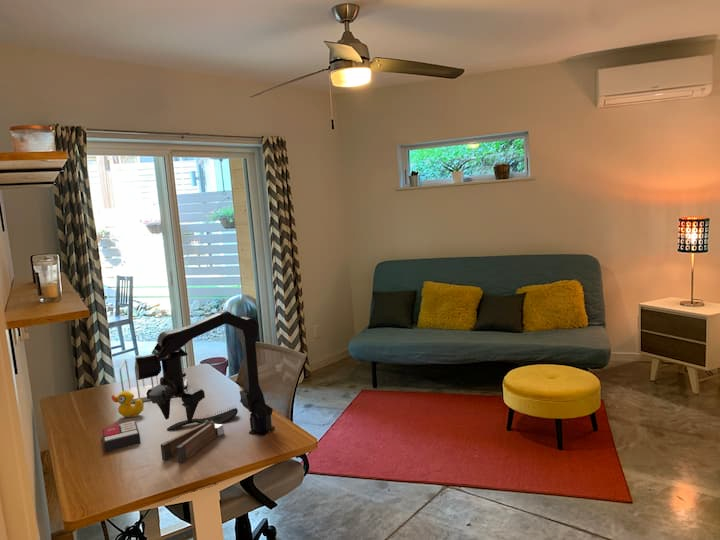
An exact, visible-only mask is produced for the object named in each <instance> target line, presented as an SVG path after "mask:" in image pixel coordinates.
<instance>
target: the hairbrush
mask: <svg viewBox="0 0 720 540" xmlns="http://www.w3.org/2000/svg"><path fill="white" fill-rule="evenodd" d="M238 412H239V410H238V408H237V406H234V407H228V410H227V409H226V408H225V411H224V409H223V411H222V410H221V411H220V410H219V411H218V413H219V414H218V413H217V414H216V413H214V414H212V415H211V416H209V415H204V416H202V415H201V416H200V417H199V418H196V417H195V418H192V421H191V422H190V423H189V422H188V420H187V419H185V420H181V421H178V422H176V423H174V424H172V425H170V426H169V427H167V428H166V430H173V431H175V430H177V429H179V428H180V429H181V427H184V426H187V425H191V424H194V423H196V424H199V425H201V424H203V423H205V421H206V420H208V422H209V423H210V422H211V421H213V422H214V423H215V424H222V423H223V424H226V423H229V422H230V421H231V420H233V419H234V418H235V417H236V415H237V414H238Z"/></svg>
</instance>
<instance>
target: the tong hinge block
mask: <svg viewBox="0 0 720 540" xmlns="http://www.w3.org/2000/svg"><path fill="white" fill-rule="evenodd" d="M214 424H215V423H214ZM224 431H225V430H224V423H223V424H215V433H216V437H215V438H220V437H221V436H222V435H224V433H225V432H224Z"/></svg>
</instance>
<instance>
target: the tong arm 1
mask: <svg viewBox="0 0 720 540" xmlns="http://www.w3.org/2000/svg"><path fill="white" fill-rule="evenodd" d="M208 424H210V423H209V422H208V420H206V421H205V423H203V424H199V425H197V426H195V427H193V428H191V429H189V430H187V431H185V432H183V433H181V434H178V435H177V436H175V437H173V438H171V439H169V440H166V441H164V442H162V443H160V453H161V460H162V461H168V460H169V459H171V458H173V457H174V456H177V450H176V447H177V446H179V445H180V444H182V443H183V442H185V441H186V440H187V439H189V438H190V437H192V436H193V435H194V434H196V433H197V432H199V431H200V430H201V429H203V428H204V427H205V426H207V425H208Z"/></svg>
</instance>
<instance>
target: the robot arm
mask: <svg viewBox="0 0 720 540" xmlns="http://www.w3.org/2000/svg"><path fill="white" fill-rule="evenodd" d="M225 325H229V326H231V327H234V328H235V330H236V334H237V337H238V339H239V341H240V343H241V351H242V352H241V353H242V354H241V355H242V363H243V364H242V365H243V376H244V388H243V390H240V391H239V395H240V400H239V402H240V403H241V404H242V406H243V407H244V408H245V409H247V410H248V412H249V413H250V414H249V416H250V417H249V426H250V430H249V431H248V434H252V435H259V436H265V434H266V435H267V434H268V433H269V431H270V432H271V431H273V430H274V429H275V426H274V425H272V424H273V423H272V414H273V408H272V407H271V406H269V405H267V404H266V399H265V396H264V393H263V391H262V389H261V386H260V382H259V370H258V369H259V368H258V357H257V346H256V344H257V341H258V338H259V332H260V325H259V322H258V321H257V320H256V319H253V318H251V317H248V316H245V315H244V316H237V315H236V314H233V313H232V312H230V311H228V310H223V309H221V310H220V311H218V312H216V313H214V314H212V315H209V316H207V317H205V318H202V319H200V320H198V321H196V322H193V323H190V324H189V325H186V326H183V327H177V328H172V329H167V330H164V331H161V333H159V334H158V337H157V343H156V344H155V346H154V348H153V349H152V351H151V354H148V355H147V354H146V355H139V356H135V358H134V374H135V373H136V376H135V378H136V377H137V379H138V381H140V380H142V379H144V380H145V379H151V377H152V378H153V377H156V376H157V377H158V376H159V374H161V372H162V376H161V377H159V383H160V384H159V383H158V384H159V385H157V386H155V387H153V388H151V389H148V391H147V399H151V400H149V401H150V402H152V404H155V405H157V406H158V408H159V410H160V411H161V413H162V415H163V417H164V419H165V420H168V419H170V414H171V399H172V398H180V399H181V402H182V403H181V405H182V406H183V407H184V408H185V414H186V420H188V422H189V423H190V422H191V421H192V419H194V415H195V413H196V410H197V407H198V406H199V405H198V404H199V403H200V402H201V401H203V399H206V396H205V390H203V388H191V389H190V390H188V384H187V385H184V377H185V378H186V376H187V373H186V372H184V373H183V369H182V361H181V357H182V358H183V357H187V356H188V355H189V354H188V352H186V351H184V349H182V348H183V347H185V345H186V344H187V343H189V342H190V341H192V339H195V338H198V337H200V336H202V335H204V334H207V333H208V332H210V331H211V332H212V331H213V330H215V329H217V328H219V327H221V326H225ZM186 389H187V390H186ZM184 390H186V392H184Z"/></svg>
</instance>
